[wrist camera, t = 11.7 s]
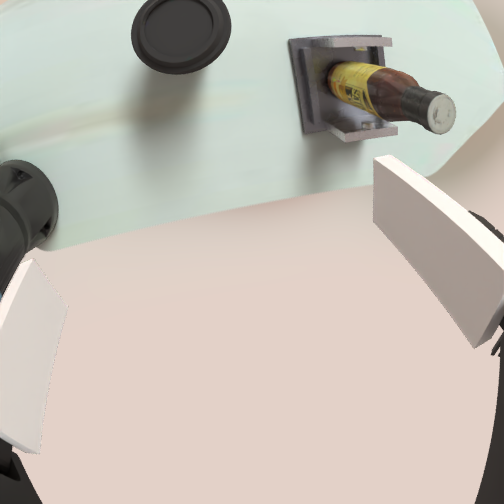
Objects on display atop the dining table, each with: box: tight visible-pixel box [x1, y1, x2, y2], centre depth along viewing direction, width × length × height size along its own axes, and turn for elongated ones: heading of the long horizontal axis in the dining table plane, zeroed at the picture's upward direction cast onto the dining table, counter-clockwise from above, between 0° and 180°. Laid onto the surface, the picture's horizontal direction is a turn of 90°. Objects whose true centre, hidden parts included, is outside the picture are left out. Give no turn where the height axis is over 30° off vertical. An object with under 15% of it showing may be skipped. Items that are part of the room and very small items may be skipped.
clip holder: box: [289, 35, 398, 143], centre depth 35 cm, size 14×14×8 cm
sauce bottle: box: [328, 61, 456, 135], centre depth 29 cm, size 7×6×20 cm
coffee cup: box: [131, 0, 231, 75], centre depth 25 cm, size 9×9×15 cm
